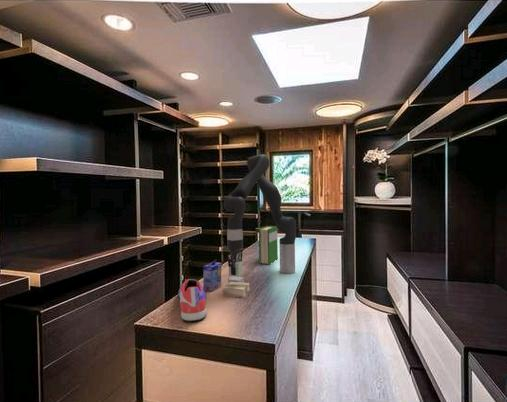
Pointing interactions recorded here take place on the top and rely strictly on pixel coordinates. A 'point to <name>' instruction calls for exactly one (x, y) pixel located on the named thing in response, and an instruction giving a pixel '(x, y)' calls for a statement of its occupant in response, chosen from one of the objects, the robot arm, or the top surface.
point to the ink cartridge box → (212, 276)
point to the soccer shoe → (192, 301)
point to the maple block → (236, 289)
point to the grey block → (236, 279)
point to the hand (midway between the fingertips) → (235, 273)
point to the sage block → (237, 269)
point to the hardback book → (268, 245)
